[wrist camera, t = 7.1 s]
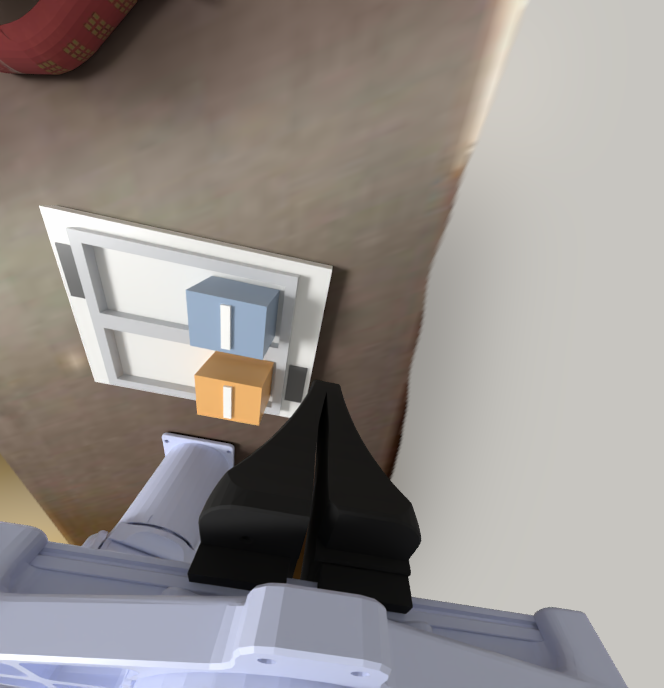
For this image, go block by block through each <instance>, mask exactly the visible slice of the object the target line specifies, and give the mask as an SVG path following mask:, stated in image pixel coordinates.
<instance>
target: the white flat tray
mask: <svg viewBox="0 0 664 688" xmlns="http://www.w3.org/2000/svg"><path fill="white" fill-rule="evenodd" d="M39 207H40V210H41V213H42V217H43V220H44V223H45V226H46V229H47V232H48V235H49V239H50V242H51V245H52V248H53V251H54V254H55V257H56V261H57V264H58V267H59V270H60V273H61V276H62V279H63V283H64V286H65V289H66V292H67V295H68V298H69V301H70V305H71V308H72V311H73V314H74V317H75V320H76V323H77V327H78V330H79V333H80V336H81V339H82V342H83V345H84V349H85V352H86V355H87V358H88V361H89V364H90V367H91V371H92V374H93V377H94V380H95V382H100V383H106V384H111V385H117V386H122V387H127V388H133V389H138V390H144V391H149V392H154V393H160V394H165V395H170V396H176V397H181V398H187V399H192V400H196V391H195V378H194V375H195V374H196V372H197V371H198V370H199V369H200V368H201V367H202V366H203V365H204V363H205V362H206V361H207V360H208V359H209V358H210V357H211V356H212V354H213V353H214V352H215V350H210V349H204V348H199V347H194V346H190V338H189V326H188V314H187V301H186V289H188V288H190V287H192V286H194V285H196V284H198V283H199V282H201V281H203V280H205V279H207V278H209V277H211V276H216V277H220V278H225V279H230V280H235V281H239V282H244V283H249V284H254V285H258V286H263V287H268V288H272V289H277V290H280V293H279V303H278V312H277V322H276V331H275V338H274V339H273V341H272V343H271V345H270V347H269V349H268V351H267V352H266V354H265V356H264V358H263V360H265V361H270V362H274V365H273V374H272V383H271V392H270V398H269V401H268V403H267V406H266V408H265V411H264V413H267V414H273V415H278V416H284V417H289V418H290V417H291V416H292V415H293V413H294V412H295V411H296V410H297V408H298V407H299V406H300V404H301V403H302V401H303V400H304V398H305V397H306V395H307V393H308V388H309V383H310V378H311V373H312V368H313V363H314V358H315V353H316V348H317V343H318V338H319V333H320V328H321V323H322V318H323V313H324V308H325V303H326V298H327V293H328V288H329V283H330V278H331V273H332V268H333V266H331V265H326V264H322V263H317V262H312V261H308V260H303V259H299V258H294V257H290V256H285V255H280V254H276V253H271V252H267V251H262V250H258V249H253V248H248V247H244V246H239V245H235V244H230V243H226V242H221V241H216V240H212V239H207V238H203V237H198V236H194V235H189V234H184V233H180V232H175V231H171V230H166V229H162V228H157V227H153V226H148V225H143V224H139V223H134V222H130V221H125V220H121V219H116V218H111V217H107V216H102V215H98V214H93V213H89V212H84V211H79V210H75V209H70V208H66V207H61V206H39ZM219 352H220V351H219ZM224 353H225V352H224ZM229 354H230V353H229ZM234 355H235V354H234ZM239 356H240V355H239ZM244 357H245V356H244ZM249 358H250V357H249Z"/></svg>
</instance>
